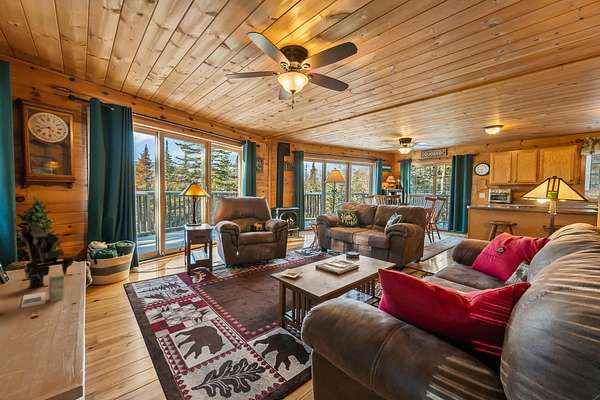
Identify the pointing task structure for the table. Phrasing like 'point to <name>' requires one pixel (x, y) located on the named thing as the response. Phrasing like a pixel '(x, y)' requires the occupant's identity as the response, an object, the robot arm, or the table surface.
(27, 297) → the baseplate
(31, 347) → the table surface
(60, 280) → the post
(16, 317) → the table surface
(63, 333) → the table surface
